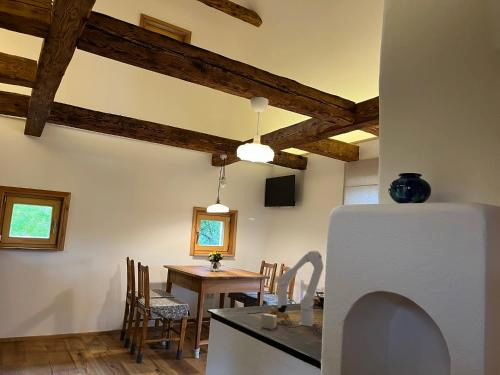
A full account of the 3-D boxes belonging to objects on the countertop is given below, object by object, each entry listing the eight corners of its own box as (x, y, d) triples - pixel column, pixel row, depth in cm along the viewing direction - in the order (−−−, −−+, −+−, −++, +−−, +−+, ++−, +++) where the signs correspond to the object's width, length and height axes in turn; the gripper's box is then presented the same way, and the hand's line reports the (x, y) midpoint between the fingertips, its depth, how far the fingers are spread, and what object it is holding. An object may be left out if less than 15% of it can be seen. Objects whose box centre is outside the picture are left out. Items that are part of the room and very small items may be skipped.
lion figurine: (267, 322, 224) (268, 307, 225) (269, 320, 229) (270, 305, 230) (291, 326, 220) (292, 310, 221) (293, 323, 225) (293, 308, 226)
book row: (265, 324, 221) (265, 312, 221) (276, 326, 218) (276, 313, 219) (260, 327, 214) (261, 314, 215) (272, 329, 211) (273, 316, 212)
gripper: (279, 292, 242) (278, 314, 241) (272, 296, 229) (271, 319, 227) (290, 294, 240) (289, 316, 238) (283, 297, 226) (282, 320, 225)
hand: (281, 317), depth 233 cm, fingers closed
